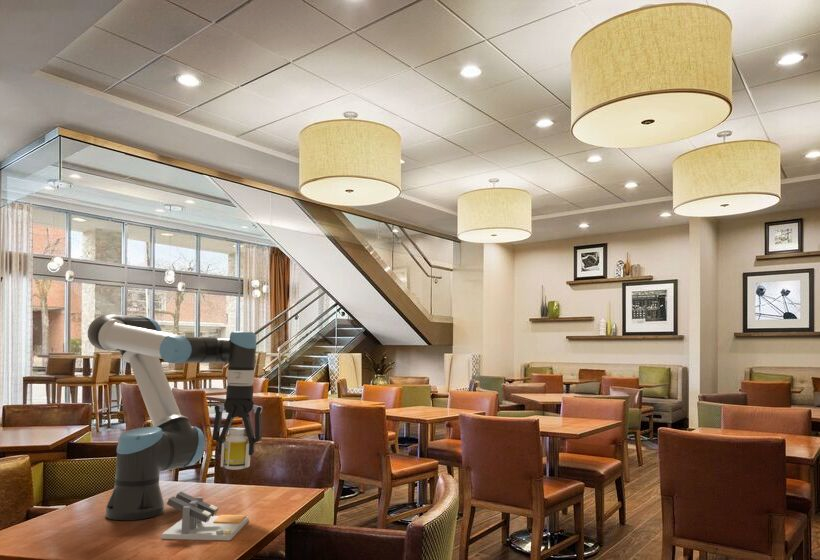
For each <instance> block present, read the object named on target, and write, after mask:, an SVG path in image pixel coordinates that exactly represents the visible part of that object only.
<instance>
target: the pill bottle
mask: <svg viewBox="0 0 820 560" xmlns="http://www.w3.org/2000/svg"><path fill="white" fill-rule="evenodd" d="M228 434H229V435H227V436H226V439H225V442H226V443H225V459H224V469H227V470H243V469H246V468H245V455H246V444H247V443H249V441H248V437H247V435H245V434H247V433H246V429H245V427H230V428H229V431H228Z"/></svg>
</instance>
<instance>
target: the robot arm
mask: <svg viewBox="0 0 820 560" xmlns="http://www.w3.org/2000/svg"><path fill="white" fill-rule="evenodd" d="M256 335H257V334H256V333H255V332H253V331H252V332H251V331H238V330H237V331H231V332H230V334H229V337H217V336H208V337H207V336H188V335H187V336H185V335H180V334H175V333H171V332H170V333H169V332H164V331H162V328H161V325H160V324H159V323H158V321H157V320H155V319H154V318H152V317H150V316H144V315H126V314H125V315H124V314H114V313H113V314H110V313H109V314H104V315H100V316H98V317H96V318H95V319H94V320H92V322H90V324H89V325H88V328H87V338H88V341H89V343H90V344H91V345H92V346H93V347H95V348H97V349H99V350H101V351H109V352H110V351H111V352H112V351H114V352H120V356H121V357H122V360H123V361H124V362H126V363H128V364H129V365H130V367H131V370H132V373H133V376H134V379H135V380H136V383H137V386H138V390H139V391H140V394H141V398H142V399H143V402H144V405H145V408H146V410H147V413H148V415H149V419H150V421H151V424H152V426H145V427H138V428H137V427H136V428H133V429H128V430H126V431H124V432H122V433H120V435H119V436H118V439H117V440H118V441H117V446H116V460H115V461H116V463H115V474H114V475H115V476H114V487H113V490H112V492H111V494H110V497H109V500H108V502H107V505H106V506H105V517H106V518H107V519H110V520H115V521H137V520H143V519H150V518H155V517H157V516H160V515H162V514H163V513H164V509H165V502H164V498H163V495H162V491H161V487H160V476H161V475H160V474H161V472H164V471H169V470H175V469H180V468H182V469H184V468H186V467H188V466H191V465H195V464H196V463H197V462H198V461H199V460H200V459H201V458H202V456H203V454H204V450H205V448H206V441H205V434H204V433H203V431H202V430H201V428H199V427H197V426H194V425H193V426H192V424H191V422H190V420H189V417H188V416H184V415H183V414H181V410H180V408H179V407H178V404H177V401H176V398H175V396H174V393H173V391H172V388H171V386H170V383H169V381H168V378H167V375H166V373H165V370H164V368H163V366H162V363H161V360H160V359H162V360H163V361H164V362H166V363H168V364H175V365H177V364H179V365H180V364H190V363H191V364H192V363H193V364H214V363H215V364H216V363H217V364H227V379H226V382H227V384H228V385H227V386H226V392H225V394H226V396H225V401H224V402H223V404H216V405H215V406H214V412H215V414H214V415H215V417H214V422H213V428H212V429H213V431H212V436H211V439H212V441H216V442H218V443H217V444H218V446H217V447H218V448H217V450H218V451H217V453H218V455H220V468H223V467H224V459H225V443H226V438H227V437H228V434H229V429H230V428H231V425H232V423H233V421H234V419H235V418H241V419H242V422H243V424H244V428H245V429H246V433H245V434H246V437H247V438H248V443H247V444H246V455H245V468H244V469H246V468H249V467H250V466H251V456H253V455H254V454H255V444H256V443H258V442H260V441H261V440H262V413H263V411H264V407H263V405H256V404H255V403H254V386H253V385H254V384H255V364H256V354H257V352H256V351H257V336H256ZM224 410H226V412H227V416H226V420H225V422H224V426H223V427H222V430H221V425H222V418H223V412H224ZM252 410H253V413H254V431H253V426H252V423H251V422H252V421H251V418H250V412H251V411H252ZM220 431H221V432H220ZM224 468H225V467H224Z"/></svg>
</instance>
